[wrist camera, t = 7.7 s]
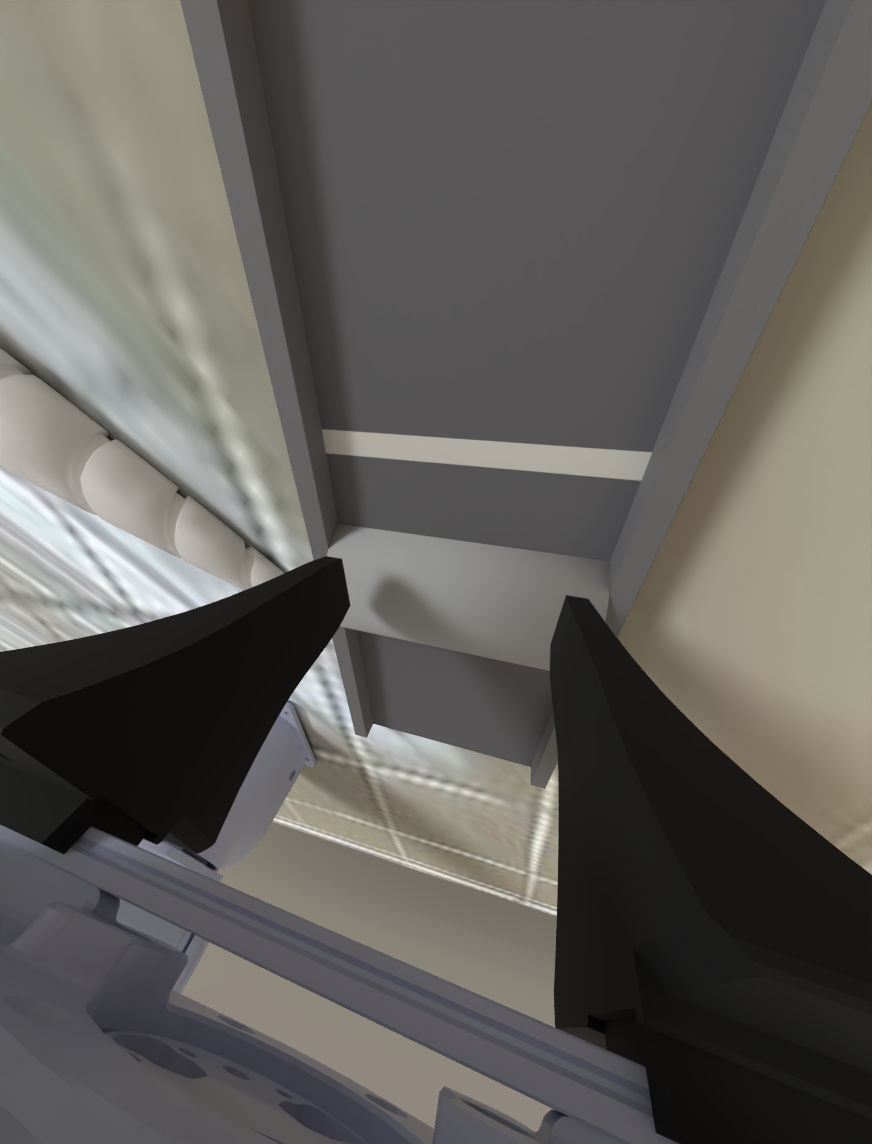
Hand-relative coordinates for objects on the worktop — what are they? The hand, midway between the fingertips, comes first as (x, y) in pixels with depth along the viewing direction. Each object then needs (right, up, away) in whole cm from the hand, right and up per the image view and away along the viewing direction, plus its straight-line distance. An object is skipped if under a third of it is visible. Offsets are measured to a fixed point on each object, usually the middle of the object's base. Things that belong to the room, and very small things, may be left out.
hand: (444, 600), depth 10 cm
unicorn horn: (-14, +6, +5) cm, 16 cm away
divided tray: (+2, +7, +3) cm, 8 cm away
